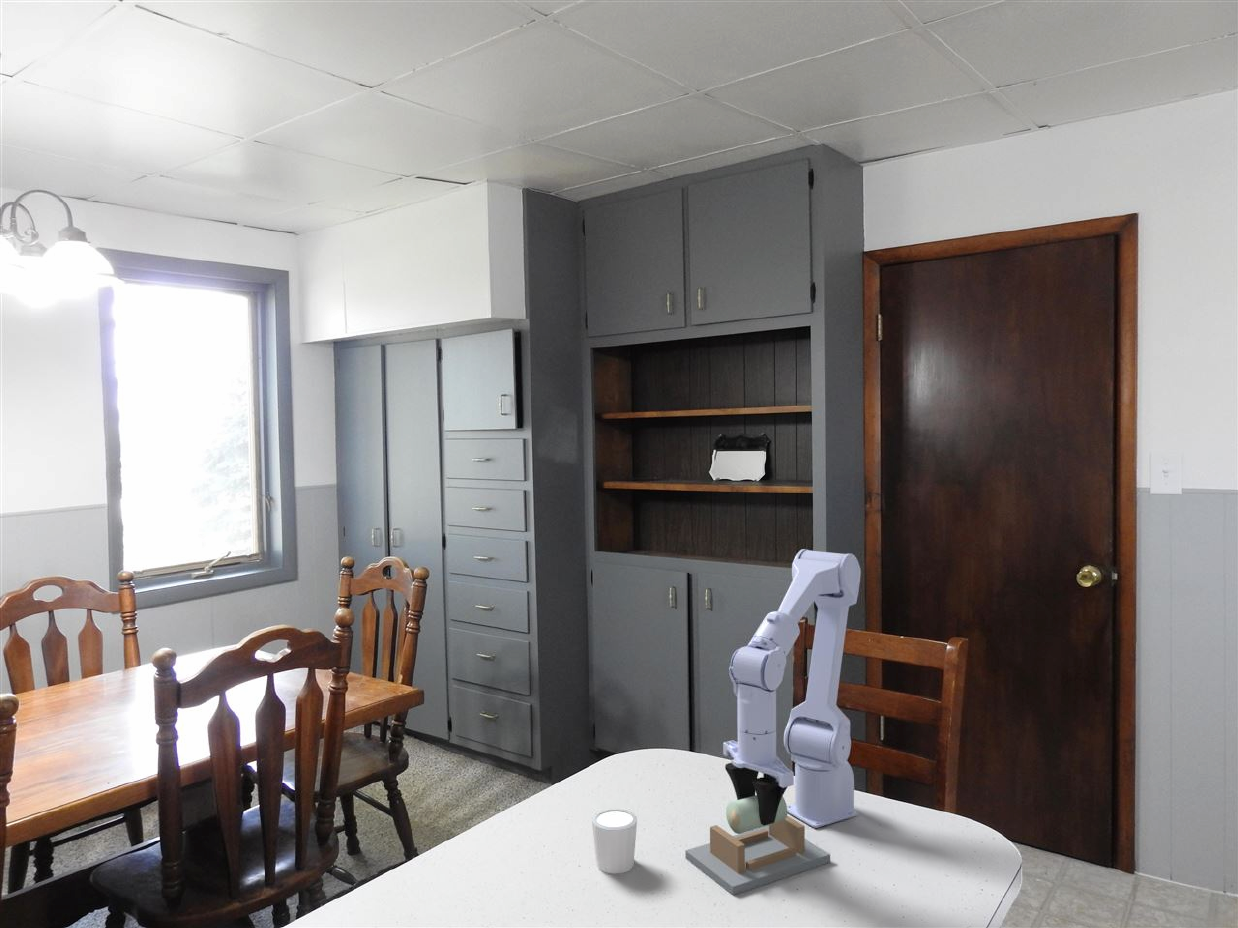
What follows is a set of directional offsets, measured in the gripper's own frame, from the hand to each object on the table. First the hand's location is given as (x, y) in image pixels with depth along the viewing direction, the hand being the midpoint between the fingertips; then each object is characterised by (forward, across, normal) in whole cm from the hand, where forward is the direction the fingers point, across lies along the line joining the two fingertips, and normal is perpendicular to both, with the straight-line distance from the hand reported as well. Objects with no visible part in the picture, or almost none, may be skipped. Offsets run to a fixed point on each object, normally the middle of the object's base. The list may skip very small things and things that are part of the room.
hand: (757, 816), depth 133 cm
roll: (+2, 0, 0) cm, 2 cm away
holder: (+7, 0, 0) cm, 7 cm away
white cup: (+7, -10, -19) cm, 23 cm away
